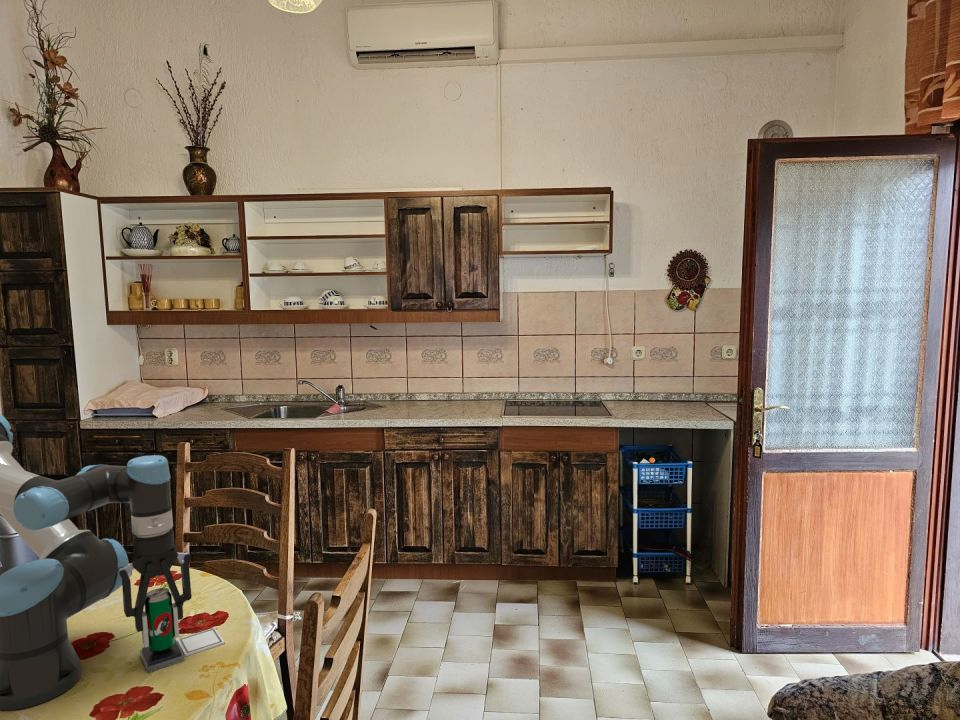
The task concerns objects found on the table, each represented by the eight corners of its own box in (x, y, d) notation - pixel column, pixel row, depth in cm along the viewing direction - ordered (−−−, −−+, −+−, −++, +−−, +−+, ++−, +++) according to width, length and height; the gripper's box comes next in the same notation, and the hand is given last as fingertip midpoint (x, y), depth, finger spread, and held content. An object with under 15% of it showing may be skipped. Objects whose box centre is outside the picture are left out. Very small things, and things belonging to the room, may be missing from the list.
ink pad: (147, 673, 127) (146, 664, 127) (140, 655, 133) (139, 647, 133) (184, 660, 131) (183, 652, 131) (176, 644, 137) (175, 636, 137)
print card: (185, 656, 132) (185, 654, 132) (177, 641, 139) (176, 638, 139) (224, 643, 137) (224, 641, 137) (215, 629, 144) (214, 627, 144)
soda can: (179, 641, 134) (176, 587, 133) (165, 654, 129) (161, 598, 128) (157, 640, 134) (153, 586, 133) (142, 653, 129) (138, 597, 128)
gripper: (104, 548, 121) (114, 663, 123) (204, 526, 132) (211, 632, 134) (100, 537, 127) (109, 647, 129) (195, 517, 138) (202, 618, 140)
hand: (161, 639), depth 132 cm, fingers closed on soda can, 5 cm apart
